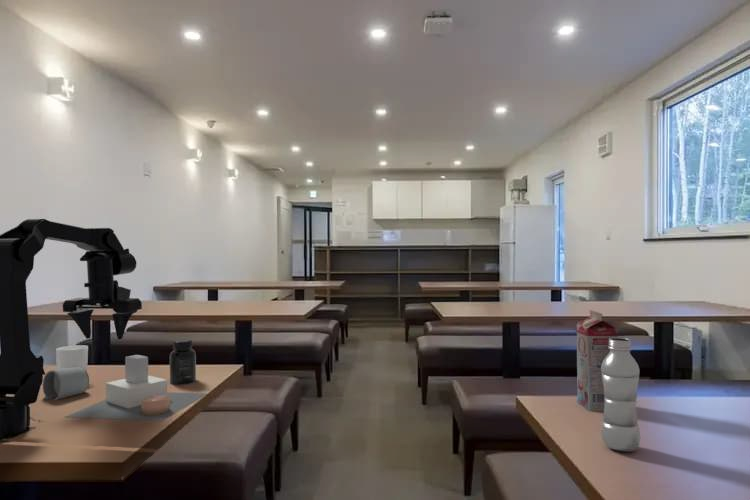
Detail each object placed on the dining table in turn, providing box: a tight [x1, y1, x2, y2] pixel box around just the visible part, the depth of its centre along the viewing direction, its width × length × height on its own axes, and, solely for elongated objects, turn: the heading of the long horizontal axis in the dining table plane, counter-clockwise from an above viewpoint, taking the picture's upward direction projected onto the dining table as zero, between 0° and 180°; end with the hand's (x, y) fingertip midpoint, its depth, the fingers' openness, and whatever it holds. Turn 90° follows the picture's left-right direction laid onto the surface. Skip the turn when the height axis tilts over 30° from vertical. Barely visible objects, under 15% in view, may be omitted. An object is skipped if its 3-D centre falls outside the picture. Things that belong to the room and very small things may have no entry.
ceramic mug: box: [42, 367, 90, 401], centre depth 130 cm, size 11×8×8 cm
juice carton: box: [576, 309, 618, 412], centre depth 118 cm, size 7×7×22 cm
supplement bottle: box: [169, 338, 197, 386], centre depth 142 cm, size 7×7×12 cm
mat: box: [65, 391, 208, 422], centre depth 120 cm, size 21×23×1 cm
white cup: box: [55, 344, 89, 373], centre depth 143 cm, size 8×8×10 cm
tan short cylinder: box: [141, 395, 170, 416], centre depth 115 cm, size 6×6×3 cm
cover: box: [105, 354, 168, 408], centre depth 124 cm, size 10×10×10 cm
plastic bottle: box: [600, 337, 641, 452], centre depth 92 cm, size 6×7×20 cm
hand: (104, 338), depth 128 cm, fingers open, 9 cm apart
